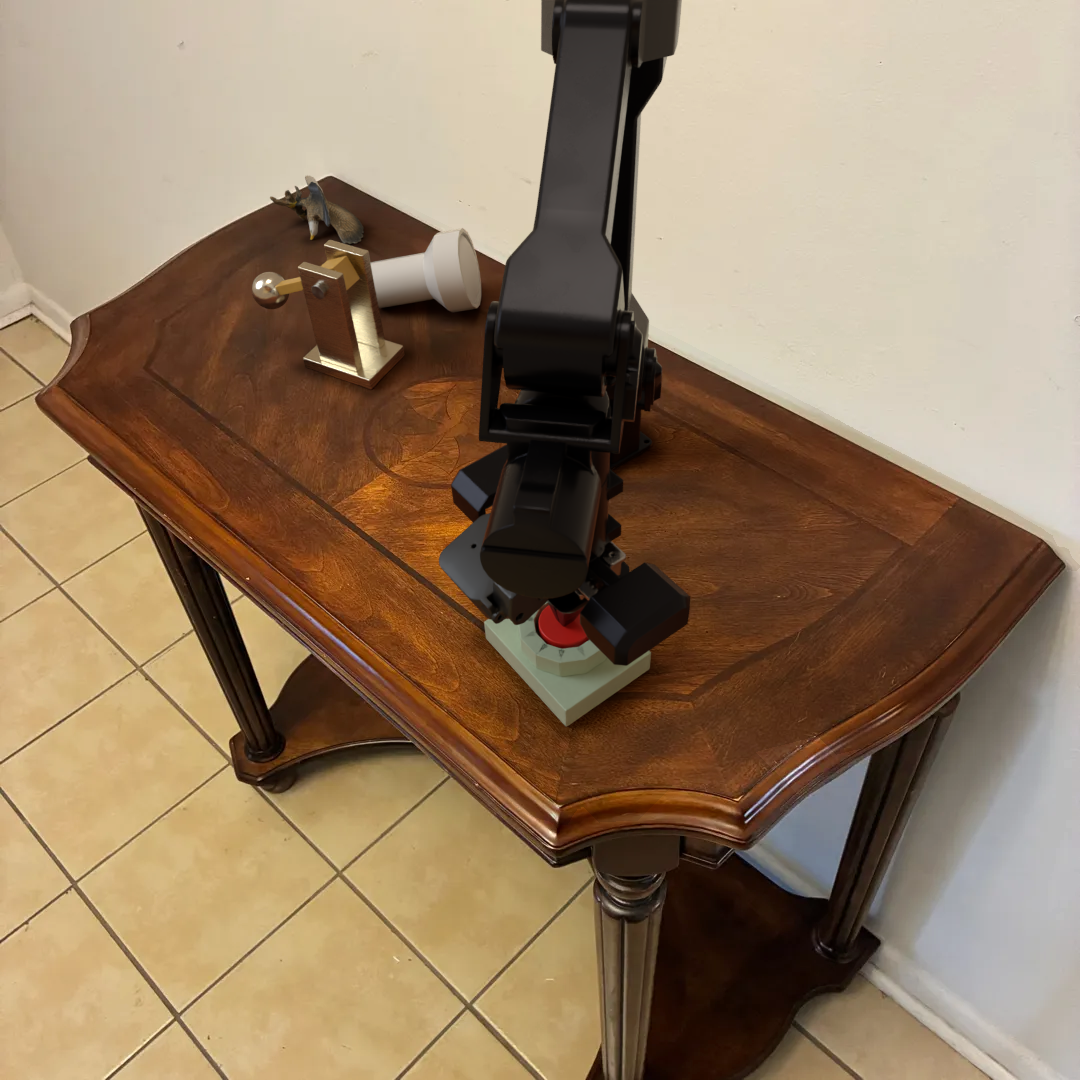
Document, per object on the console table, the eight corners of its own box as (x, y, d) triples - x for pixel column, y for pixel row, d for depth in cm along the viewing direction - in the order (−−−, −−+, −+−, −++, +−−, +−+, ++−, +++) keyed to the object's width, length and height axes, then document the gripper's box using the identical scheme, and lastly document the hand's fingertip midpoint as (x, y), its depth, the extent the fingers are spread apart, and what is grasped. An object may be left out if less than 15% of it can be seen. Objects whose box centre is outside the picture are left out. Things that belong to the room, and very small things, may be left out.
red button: (604, 638, 73) (604, 624, 72) (561, 667, 72) (561, 653, 70) (570, 605, 75) (570, 590, 74) (528, 632, 74) (527, 617, 72)
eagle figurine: (267, 234, 113) (325, 241, 109) (270, 168, 111) (329, 172, 107) (315, 240, 119) (371, 247, 115) (318, 178, 118) (376, 182, 113)
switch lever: (258, 318, 99) (237, 287, 97) (280, 299, 101) (260, 267, 99) (345, 300, 91) (324, 265, 89) (367, 280, 93) (347, 245, 91)
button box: (650, 669, 74) (652, 637, 71) (566, 727, 71) (565, 697, 68) (566, 587, 79) (566, 555, 76) (485, 638, 76) (481, 607, 73)
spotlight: (479, 320, 101) (458, 245, 96) (375, 338, 103) (349, 265, 98) (490, 287, 107) (471, 215, 102) (391, 304, 109) (368, 234, 105)
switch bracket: (305, 367, 99) (277, 264, 90) (340, 334, 102) (317, 232, 93) (371, 390, 96) (350, 286, 87) (405, 354, 100) (387, 252, 91)
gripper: (370, 444, 62) (403, 596, 74) (552, 632, 52) (558, 774, 64) (512, 371, 67) (522, 527, 78) (706, 533, 56) (685, 683, 68)
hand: (565, 620), depth 72 cm, fingers closed, pressing on red button
